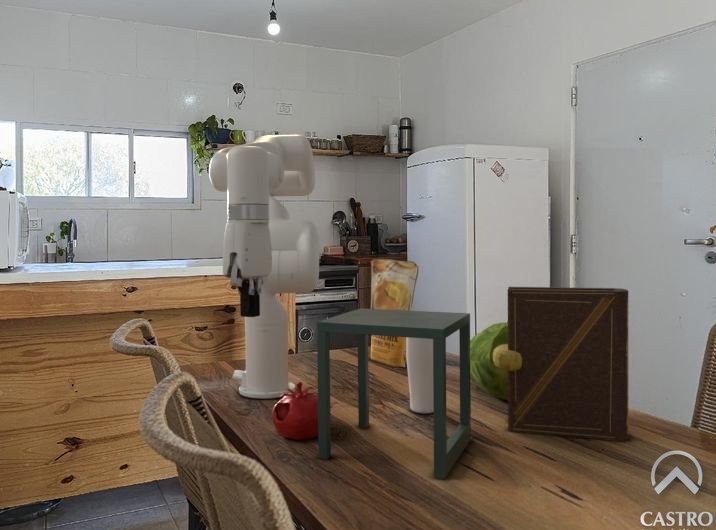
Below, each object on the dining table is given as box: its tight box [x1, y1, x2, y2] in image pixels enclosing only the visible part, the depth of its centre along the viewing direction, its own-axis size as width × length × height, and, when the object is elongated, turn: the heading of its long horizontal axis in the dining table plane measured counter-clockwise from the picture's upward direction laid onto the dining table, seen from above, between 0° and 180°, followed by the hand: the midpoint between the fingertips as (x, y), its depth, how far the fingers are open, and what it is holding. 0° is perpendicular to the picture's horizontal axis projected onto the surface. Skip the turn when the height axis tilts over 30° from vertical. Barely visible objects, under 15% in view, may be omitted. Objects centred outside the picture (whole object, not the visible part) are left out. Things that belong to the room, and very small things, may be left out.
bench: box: [316, 307, 472, 480], centre depth 97 cm, size 20×18×22 cm
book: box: [493, 286, 629, 442], centre depth 105 cm, size 22×8×25 cm, turn 71°
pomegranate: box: [271, 381, 319, 441], centre depth 105 cm, size 10×10×9 cm
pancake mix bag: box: [369, 258, 419, 368], centre depth 163 cm, size 7×19×28 cm, turn 28°
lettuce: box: [470, 321, 508, 402], centre depth 129 cm, size 17×23×16 cm
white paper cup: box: [405, 337, 434, 414], centre depth 118 cm, size 7×7×15 cm
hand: (250, 316), depth 109 cm, fingers closed
